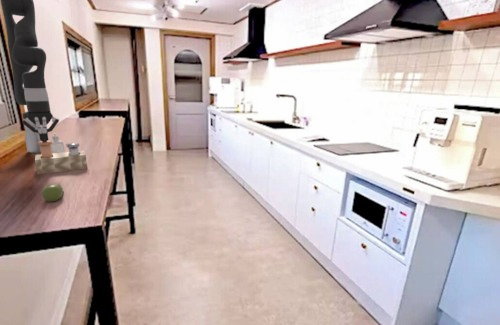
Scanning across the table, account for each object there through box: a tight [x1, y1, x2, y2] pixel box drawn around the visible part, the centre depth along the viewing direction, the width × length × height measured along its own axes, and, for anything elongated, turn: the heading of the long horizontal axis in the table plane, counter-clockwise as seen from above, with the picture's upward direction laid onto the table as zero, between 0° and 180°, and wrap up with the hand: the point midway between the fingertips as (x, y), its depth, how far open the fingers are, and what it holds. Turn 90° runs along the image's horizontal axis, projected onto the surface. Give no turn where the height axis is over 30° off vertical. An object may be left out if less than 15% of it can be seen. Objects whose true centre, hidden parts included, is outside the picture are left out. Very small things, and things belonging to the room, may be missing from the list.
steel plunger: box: [65, 142, 80, 155], centre depth 127 cm, size 5×5×10 cm
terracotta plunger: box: [38, 140, 53, 158], centre depth 121 cm, size 5×5×10 cm
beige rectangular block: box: [34, 150, 88, 175], centre depth 125 cm, size 18×9×6 cm, turn 124°
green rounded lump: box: [41, 183, 65, 203], centre depth 96 cm, size 6×5×10 cm
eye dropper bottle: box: [51, 132, 66, 153], centre depth 140 cm, size 4×6×12 cm
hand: (44, 141), depth 120 cm, fingers closed
